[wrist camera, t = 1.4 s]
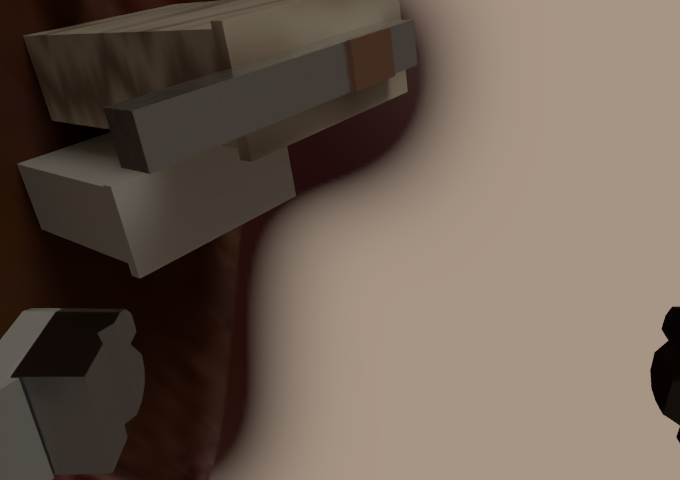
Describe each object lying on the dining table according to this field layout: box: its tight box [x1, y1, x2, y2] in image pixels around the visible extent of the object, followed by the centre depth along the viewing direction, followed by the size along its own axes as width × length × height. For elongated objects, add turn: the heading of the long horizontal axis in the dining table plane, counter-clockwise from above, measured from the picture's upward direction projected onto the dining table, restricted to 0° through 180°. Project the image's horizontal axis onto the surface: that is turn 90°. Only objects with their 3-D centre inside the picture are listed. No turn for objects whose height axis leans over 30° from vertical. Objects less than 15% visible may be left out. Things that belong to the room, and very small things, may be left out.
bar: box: [103, 19, 417, 174], centre depth 36 cm, size 22×3×3 cm, turn 103°
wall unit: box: [23, 0, 407, 162], centre depth 49 cm, size 8×16×26 cm, turn 104°
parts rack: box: [17, 132, 296, 279], centre depth 53 cm, size 7×16×16 cm, turn 103°
